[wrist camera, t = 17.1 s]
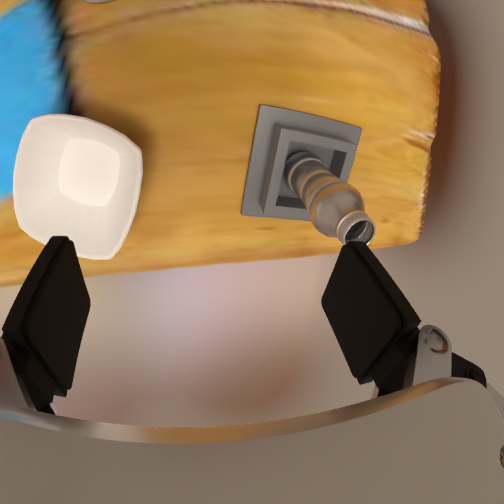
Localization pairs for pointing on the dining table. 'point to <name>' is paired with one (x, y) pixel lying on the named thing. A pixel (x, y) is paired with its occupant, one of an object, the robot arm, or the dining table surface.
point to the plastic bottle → (328, 199)
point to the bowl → (77, 183)
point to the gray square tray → (282, 148)
